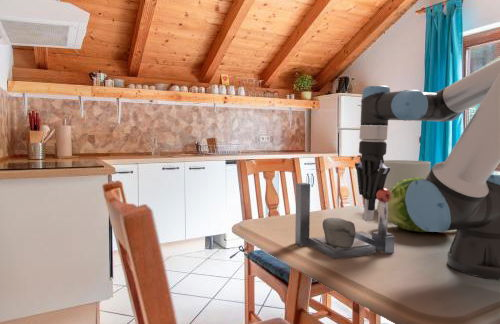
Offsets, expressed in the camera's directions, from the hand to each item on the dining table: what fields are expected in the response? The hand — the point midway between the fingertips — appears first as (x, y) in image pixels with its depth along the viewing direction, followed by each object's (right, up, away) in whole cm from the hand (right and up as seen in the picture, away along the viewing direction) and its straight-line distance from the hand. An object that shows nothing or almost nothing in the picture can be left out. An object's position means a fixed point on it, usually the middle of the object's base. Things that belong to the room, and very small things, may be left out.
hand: (368, 220), depth 106 cm
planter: (+31, -4, +50) cm, 59 cm away
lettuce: (+20, -6, +16) cm, 27 cm away
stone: (-10, -5, -6) cm, 13 cm away
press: (-8, -7, -3) cm, 12 cm away
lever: (+2, -5, -6) cm, 8 cm away
